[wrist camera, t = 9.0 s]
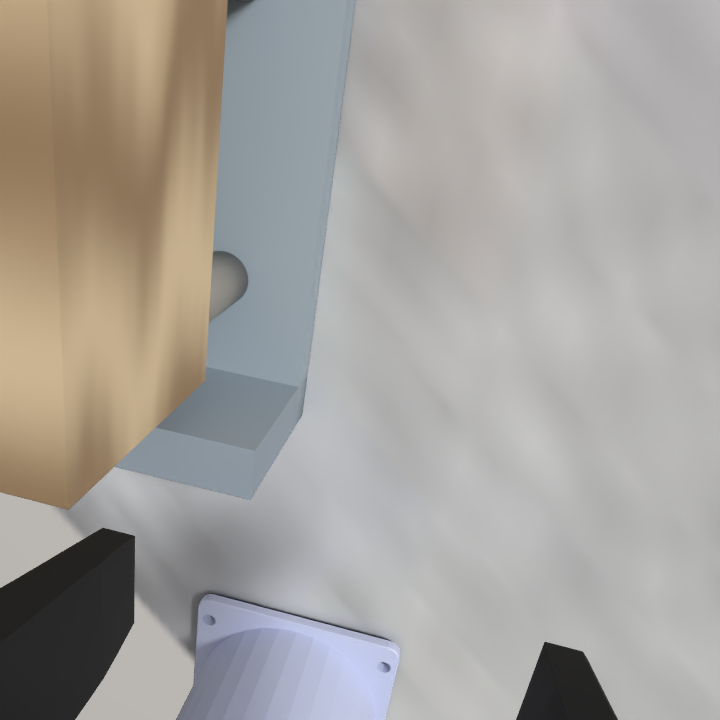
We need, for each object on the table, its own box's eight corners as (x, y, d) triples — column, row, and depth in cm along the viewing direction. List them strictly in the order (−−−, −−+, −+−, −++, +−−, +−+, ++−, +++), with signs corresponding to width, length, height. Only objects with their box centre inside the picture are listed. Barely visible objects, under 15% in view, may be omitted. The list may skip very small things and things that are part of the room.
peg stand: (302, 415, 20) (250, 500, 16) (82, 365, 21) (-27, 432, 17) (386, -239, 14) (339, -416, 9) (63, -271, 15) (-124, -447, 10)
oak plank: (49, -224, 12) (-306, -503, 7) (239, -202, 12) (27, -483, 6) (69, 350, 17) (-126, 459, 12) (205, 380, 17) (68, 509, 11)
